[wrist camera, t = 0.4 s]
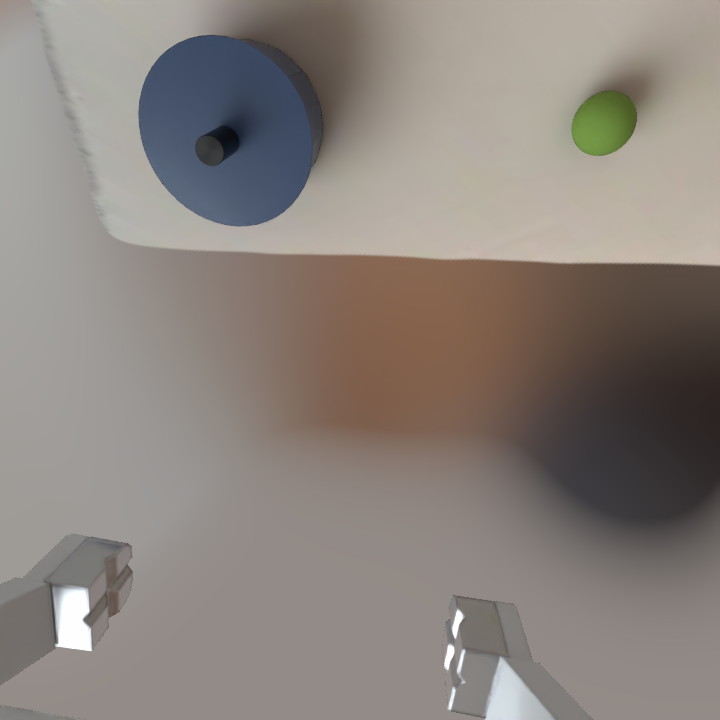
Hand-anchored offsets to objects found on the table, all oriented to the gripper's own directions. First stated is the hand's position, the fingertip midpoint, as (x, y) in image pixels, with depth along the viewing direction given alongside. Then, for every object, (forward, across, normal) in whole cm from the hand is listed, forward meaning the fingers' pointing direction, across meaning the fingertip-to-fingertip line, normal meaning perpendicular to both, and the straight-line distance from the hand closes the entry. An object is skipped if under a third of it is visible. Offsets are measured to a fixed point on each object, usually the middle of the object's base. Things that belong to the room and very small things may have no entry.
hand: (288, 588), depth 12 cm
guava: (+43, -20, -20) cm, 51 cm away
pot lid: (+36, +15, -14) cm, 42 cm away
